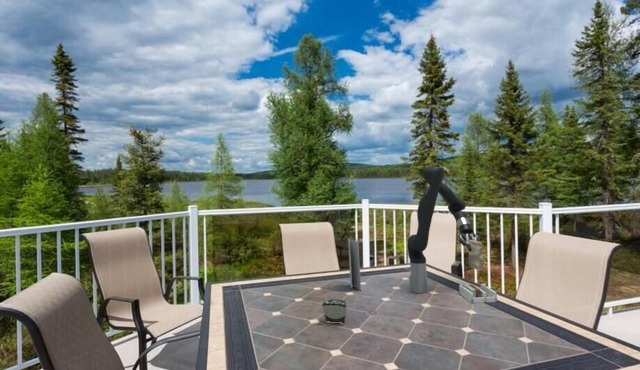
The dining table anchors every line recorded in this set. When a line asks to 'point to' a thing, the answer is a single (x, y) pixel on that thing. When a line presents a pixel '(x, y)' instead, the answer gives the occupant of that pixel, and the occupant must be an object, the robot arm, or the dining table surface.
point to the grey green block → (476, 290)
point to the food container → (335, 310)
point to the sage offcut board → (471, 290)
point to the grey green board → (476, 255)
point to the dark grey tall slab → (354, 263)
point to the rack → (483, 293)
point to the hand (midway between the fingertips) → (473, 250)
